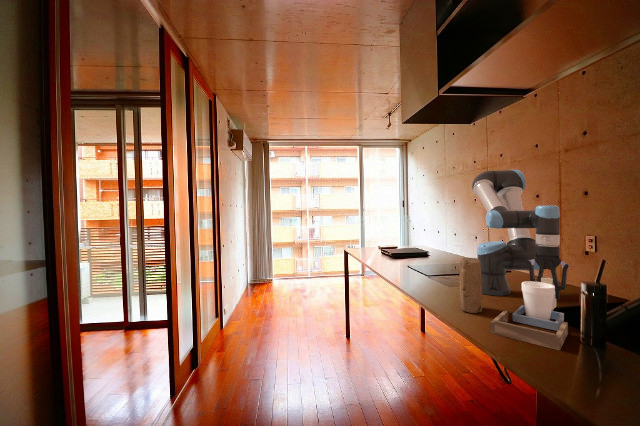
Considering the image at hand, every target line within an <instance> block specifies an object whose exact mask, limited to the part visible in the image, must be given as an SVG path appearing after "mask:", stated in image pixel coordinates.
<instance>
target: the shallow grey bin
mask: <svg viewBox="0 0 640 426" xmlns="http://www.w3.org/2000/svg"><path fill="white" fill-rule="evenodd" d="M568 324H569V323H568V322H567V321H566V322H565V321H563V323H562V324H561V326H560V328H559V330H558V331H556V333H554V332H549V331H544V330H539V329H536V328H532V327H531V328H530V327H527V326H522V325H517V324H513V323H509V310H506V309H504V310H503V311H502V312H501V313H499V314H498V315H496V317H495V318H493V319H492V320H491V321H490V328H489V329H490V334H492V335H497V336H500V337H505V338H510V339H513V340H517V341H521V342H525V343H528V344H532V345H537V346H540V347H543V348H544V347H545V348H549V349H553V350H556V351H561V349H562V347H563V345H564V343H565V341H566V338H567V337H568V335H569V325H568Z"/></svg>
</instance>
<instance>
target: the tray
mask: <svg viewBox="0 0 640 426" xmlns="http://www.w3.org/2000/svg"><path fill="white" fill-rule="evenodd" d="M541 282H542V283H548V284H551V285H554V282H553V278H552V276H543V277H542V278H541ZM554 310H555V308H553V304H552V310H551V316H550V321H548V320H543V319H538V318H533V317H528V316H526V311H525V305H520V306H519V307H518V308H517V309H516V310H515V311H514V312H513V313H511V314H512V315H511V316H512V318H511V319H512V322H515V323H519V324H523V325H524V324H525V325H529V326H533V327H537V328H542V329H547V330H550V331H551V330H552V331H556V332H557V331H558V330H559V328H560V326H561V324H562V323H563V322H565V321H564V320H565V313H564V312H559V311H554ZM523 314H525V315H523ZM552 320H555V321H552Z"/></svg>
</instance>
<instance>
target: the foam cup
mask: <svg viewBox="0 0 640 426" xmlns="http://www.w3.org/2000/svg"><path fill="white" fill-rule="evenodd" d="M521 291H522V297H523V303H524V306H525V311H526V314H525V316H528V317H533V318H538V319H543V320H548V321H551V318H550V316H551V310H552V304H553V298H554V294H555V286H554V285H551V284H548V283H542V282H537V281H535V282H532V281H530V280H529V281H522V282H521Z"/></svg>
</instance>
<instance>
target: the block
mask: <svg viewBox="0 0 640 426" xmlns="http://www.w3.org/2000/svg"><path fill="white" fill-rule="evenodd" d="M459 303H460V309H461V310H462V311H463V312H465V313H471V314H478V313H482V311H483V294H482V276H481V262H480V260H479V259H477V258H476V257H462V258H461V259H460V261H459Z"/></svg>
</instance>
